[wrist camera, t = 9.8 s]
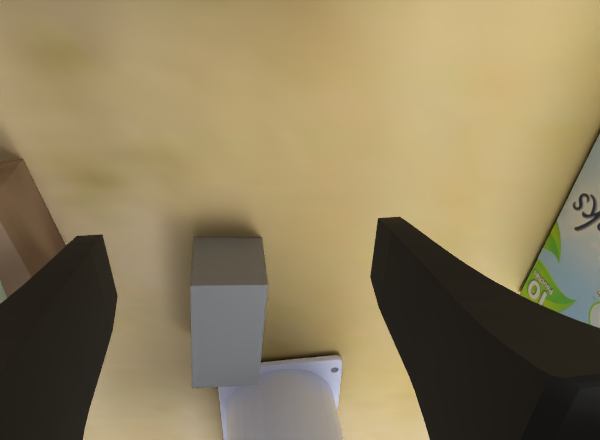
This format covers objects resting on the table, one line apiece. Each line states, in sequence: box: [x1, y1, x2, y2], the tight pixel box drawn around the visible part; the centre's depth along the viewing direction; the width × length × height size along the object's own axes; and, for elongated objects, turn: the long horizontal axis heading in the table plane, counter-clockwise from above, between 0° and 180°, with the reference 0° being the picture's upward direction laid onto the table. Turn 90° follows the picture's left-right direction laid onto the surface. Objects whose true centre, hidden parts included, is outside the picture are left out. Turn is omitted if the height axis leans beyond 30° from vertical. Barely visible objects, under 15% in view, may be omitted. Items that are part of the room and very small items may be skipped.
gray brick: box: [190, 237, 268, 388], centre depth 25 cm, size 7×4×4 cm, turn 174°
